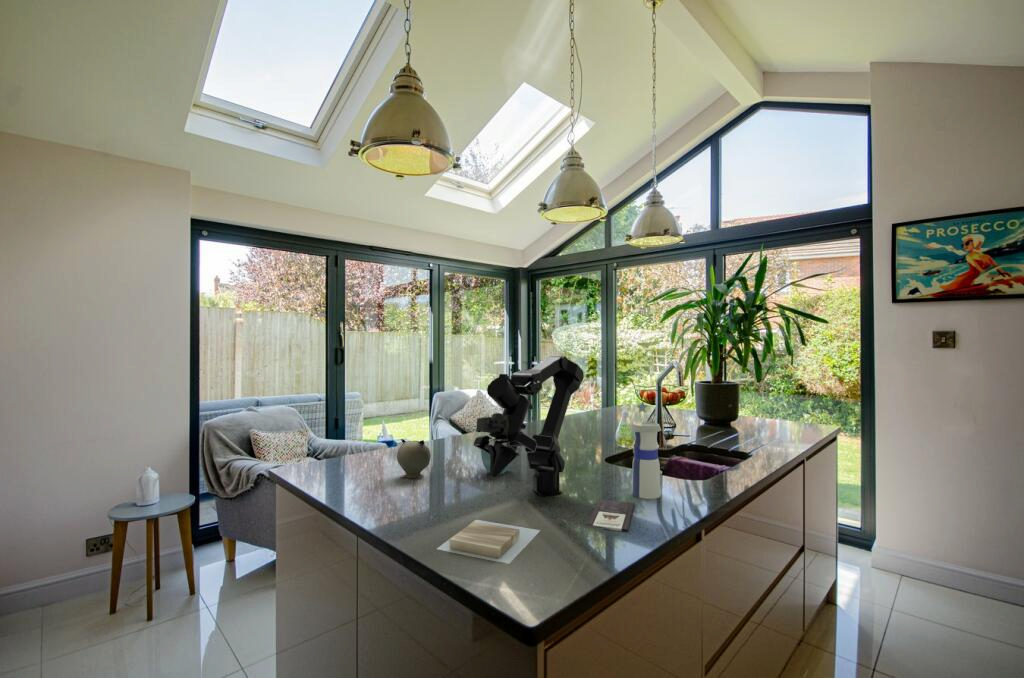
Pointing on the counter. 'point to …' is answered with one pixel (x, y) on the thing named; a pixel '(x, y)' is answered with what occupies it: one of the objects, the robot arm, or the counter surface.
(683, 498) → the counter surface
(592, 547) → the counter surface
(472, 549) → the birch tile
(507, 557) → the light gray mat
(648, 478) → the water bottle
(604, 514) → the chocolate bar
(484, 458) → the flower pot
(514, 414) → the robot arm
